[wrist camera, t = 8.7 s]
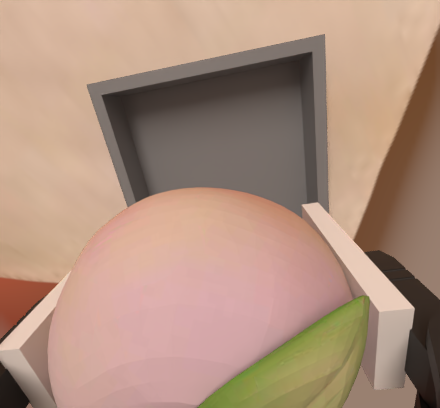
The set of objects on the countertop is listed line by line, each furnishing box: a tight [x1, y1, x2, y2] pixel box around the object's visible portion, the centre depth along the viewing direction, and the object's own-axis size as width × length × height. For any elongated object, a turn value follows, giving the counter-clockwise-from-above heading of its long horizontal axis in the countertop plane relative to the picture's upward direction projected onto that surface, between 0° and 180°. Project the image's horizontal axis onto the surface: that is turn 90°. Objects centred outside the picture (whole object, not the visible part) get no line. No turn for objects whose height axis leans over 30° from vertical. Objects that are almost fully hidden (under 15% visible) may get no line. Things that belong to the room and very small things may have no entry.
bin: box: [87, 34, 329, 218], centre depth 26 cm, size 20×20×5 cm
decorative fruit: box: [47, 187, 370, 408], centre depth 8 cm, size 9×8×10 cm
